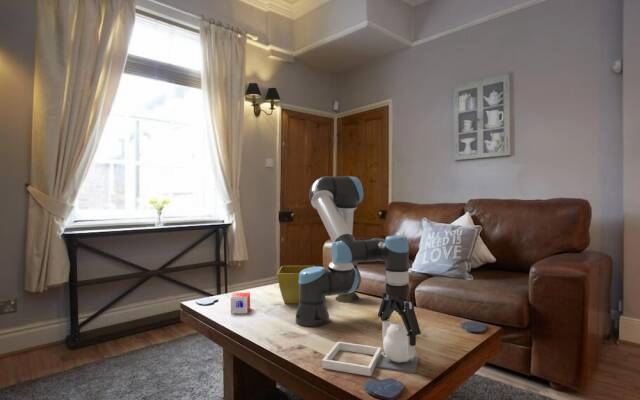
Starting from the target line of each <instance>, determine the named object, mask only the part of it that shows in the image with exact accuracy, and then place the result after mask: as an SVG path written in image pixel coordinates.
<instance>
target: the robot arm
mask: <svg viewBox="0 0 640 400" xmlns="http://www.w3.org/2000/svg"><path fill="white" fill-rule="evenodd" d="M308 193H309V194H308V198H309V202H310V204H311V206H312V207H313V208H314V209H315V210H316V211H317V213H318V215H319V217H320V219H321V222H322V223H323V225H324V227H325V229H326V232H327V234H328V236H329V238H330V240H331V242H332V245H331V246H330V247H331V248H330V254H331V261H330V262H329V263H328V268H327V269H325V267H324V266H315V267H310V268H306V269H304V270H302V271H301V272H300V273H299V281H298V282H299V303H298V306H297V311H296V313H295V323H296V324H297V325H300V326H302V327H303V326H304V327H319V326H324V325H327V324H328V323H329V322H330V314H329V311H328V307H327V305H326V297H328V296H329V297H330V296H338V295H340V294H347V293H352V292H353V291H355V292H356V290H355V289H356V288H357V285H358V276H357V275H358V273H357V270H356V269H355V268H354V265H353V264H352V263H356V262H357V263H367V262H376V261H377V262H378V261H381V262H384V263H385V282H386V283H385V292H384V293H382V299H381V303H380V306H379V310H378V314H377V316H378V318H380V320H381V327H382V328H381V329H382V335H381V336H382V341H384V338H385V336H386V332H387V329H388V327H389V326H390V322H391V320H390V317H391V316H392V314H393V312H394V311H395V312H396V313H398V315H399V316H400V318H401V320H402V322H403V325H404V326H405V327H406V330H407V332H408V334H407V356H411V355H416V344H417V338H416V337H417V336H420V335H421V333H422V332H421V329H420V325H419V322H418V319H417V318H418V317H417V315H416V312H415V306H414V305H415V304H414V302H413V301H408V299H407V297H408V296H409V295H410V284H409V282H410V281H409V280H410V279H409V277H410V276H409V271H410V270H409V266H410V265H409V264H410V263H409V261H410V259H409V257H410V255H409V253H410V247H409V239H408V237H407V236H404V235H387V236H386V237H385V239H384V238H381V237H374V238H373V237H372V238H371V239H362V240H360V239H359V240H356V239H355V237H354V236H353V227H354V212H355V210H356V209H357V208H358V204H360V203H361V202H362V201H363V198H364V188H363V185H362V182H361V181H360V179H359V178H358V177H356V176H350V175H344V176H343V175H340V176H339V175H338V176H336V175H335V176H334V175H331V176H329V175H328V176H321V177H319V178H317V179H316V180H315V181H313V183H312V185H311V186H310V189H309V192H308Z"/></svg>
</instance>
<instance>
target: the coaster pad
mask: <svg viewBox="0 0 640 400" xmlns="http://www.w3.org/2000/svg"><path fill="white" fill-rule="evenodd" d="M383 352H384V351H383ZM383 352H382V353H383ZM383 354H384V355H386V354H385V352H384V353H383ZM419 359H420V356H419V355H416V354H415V355H414V358H413V360H412V361H410V360H408V361H407V362H400V363H398V362H394V361H392V360H390V359H389V358H385V357H384V356H383V355H382V354H381V356H380V358H379V360H378V362H377V364H376V366H375V368H377V369H382V370H390V371H393V372H400V373H406V374H413V375H415V374H416V370H417V368H418V362H419Z"/></svg>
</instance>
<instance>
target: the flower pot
mask: <svg viewBox="0 0 640 400" xmlns="http://www.w3.org/2000/svg"><path fill="white" fill-rule="evenodd" d="M310 267H316V266H315V265H281V266H280V268H279V270H278V271H277V272H276V273H277V274H276V275H277V281H278V282H277V283H278V288H279V289H280V290H279V291H280V293H281V297H282V300H283V302H284V304H299V282H298V281H299V273H300V272H301V271H302V270H304V269H306V268H310Z"/></svg>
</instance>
